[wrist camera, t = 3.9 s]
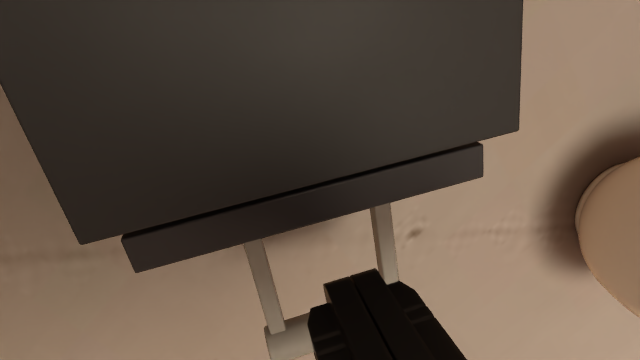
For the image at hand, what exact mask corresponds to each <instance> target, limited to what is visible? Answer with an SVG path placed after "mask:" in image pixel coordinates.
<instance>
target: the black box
mask: <svg viewBox="0 0 640 360" xmlns="http://www.w3.org/2000/svg"><path fill="white" fill-rule="evenodd" d="M522 18H523V0H0V84H1V86H2V88H3V90H4V92H5V94H6V96H7V98H8V100H9V102H10V104H11V106H12V108H13V110H14V112H15V114H16V117H17V119H18V121H19V123H20V125H21V127H22V129H23V131H24V133H25V135H26V137H27V139H28V141H29V143H30V145H31V147H32V149H33V151H34V153H35V155H36V157H37V159H38V161H39V163H40V165H41V167H42V169H43V171H44V173H45V175H46V177H47V179H48V181H49V183H50V185H51V187H52V189H53V191H54V194H55V196H56V198H57V200H58V202H59V204H60V206H61V208H62V210H63V212H64V214H65V216H66V218H67V220H68V222H69V224H70V226H71V228H72V230H73V232H74V234H75V236H76V238H77V240H78V242H79V244H80V245H84V244H88V243H91V242H95V241H99V240H103V239H107V238H110V237H114V236H118V235H122V234H126V233H130V232H133V231H137V230H141V229H145V228H149V227H153V226H156V225H160V224H164V223H168V222H172V221H175V220H179V219H183V218H187V217H191V216H195V215H198V214H202V213H206V212H210V211H214V210H218V209H221V208H225V207H229V206H233V205H237V204H240V203H244V202H248V201H252V200H256V199H260V198H263V197H267V196H271V195H275V194H279V193H283V192H286V191H290V190H294V189H298V188H302V187H306V186H309V185H313V184H317V183H321V182H325V181H328V180H332V179H336V178H340V177H344V176H348V175H351V174H355V173H359V172H363V171H367V170H371V169H374V168H378V167H382V166H386V165H390V164H393V163H397V162H401V161H405V160H409V159H413V158H416V157H420V156H424V155H428V154H432V153H436V152H439V151H443V150H447V149H451V148H455V147H458V146H462V145H466V144H470V143H474V142H478V141H481V140H485V139H489V138H493V137H497V136H501V135H504V134H508V133H512V132H516V131H518V130H519V113H520V81H521V50H522Z"/></svg>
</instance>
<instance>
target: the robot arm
mask: <svg viewBox="0 0 640 360" xmlns="http://www.w3.org/2000/svg"><path fill="white" fill-rule="evenodd" d="M323 286H324V292H325V297H326V301H327V303H326V304H323V305H320V306H317V307H313V308H311V309H310V314H309V318H308V323H307V326H308V330H309V334H310V338H311V342H312V346H313V350H314V355H315V359H316V360H467V359H466V358H465V357H464V355H463V354H462V353H461V351H460V350H459V349H458V347H457V346H456V345H455V343H454V342H453V341H452V339H451V338H450V337H449V335H448V334H447V332H446V331H445V330H444V328H443V327H442V326H441V324H440V323H439V322H438V320H437V319H436V318H434V316H433V314H432V312H431V311H430V310H429V308H428V307H427V306H425V303H424V302H423V300H422V299H421V298H420V296H419V295H418V294H417V292H416V291H415V290H414V289H412V288H410V287H409V286H407V285H405V284H404V283H402V282H400V281H397V282H394V283H390V284H386V283H385V281H384V280H383V278H382V277H381V275H380V274H379V272H378V271H377V269H375V268H374V269H371V270H368V271H364V272H361V273H358V274H354V275H351V276H350V277H345V278H342V279H338V280H335V281H332V282H328V283H325V284H323Z"/></svg>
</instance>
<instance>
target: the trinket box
mask: <svg viewBox="0 0 640 360" xmlns="http://www.w3.org/2000/svg"><path fill="white" fill-rule="evenodd" d="M575 227H576V231H577V233H578V235H579V243H580V248H581V252H582V255H583V257H584V260H585V262H586V264H587V266H588V267H589V269H590V271H591V272H592V274H593V275H594V277H595V278H596V279H597V281H598V282H599V283H600V284H601V285H602V286H603V287H604V288H605V289H606V290H607V291H608V292H609V293H610V294H611V295H612V296H613V297H614V298H615V299H616V300H617V301H619V302H620V303H621V304H622V305H623V306H624V307H625V308H627V309H628V310H629V311H631V312H632V313H634V314H635V315H636V316H638V317H639V318H640V157H638V158H635V159H633V160H631V161H629V162H627V163H622V164H618V165H615V166H613V167H611V168H609V169H607V170H606V171H604V172H603V173H601V174H600V175H599V176H598V177H597V178H596V179H595V180H594V181H593V182H592V183H591V184H590V185H589V186H588V188H587V189H586V190H585V192H584V194H583V195H582V197H581V199H580V201H579V204H578V207H577V210H576V214H575Z"/></svg>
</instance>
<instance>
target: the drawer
mask: <svg viewBox="0 0 640 360" xmlns="http://www.w3.org/2000/svg"><path fill="white" fill-rule="evenodd" d="M481 177H483V144H481V143H479V142H474V143H470V144H466V145H462V146H458V147H455V148H451V149H447V150H443V151H439V152H436V153H432V154H428V155H424V156H420V157H416V158H413V159H409V160H405V161H401V162H397V163H393V164H390V165H386V166H382V167H378V168H374V169H371V170H367V171H363V172H359V173H355V174H351V175H348V176H344V177H340V178H336V179H332V180H328V181H325V182H321V183H317V184H313V185H309V186H306V187H302V188H298V189H294V190H290V191H286V192H283V193H279V194H275V195H271V196H267V197H263V198H260V199H256V200H252V201H248V202H244V203H240V204H237V205H233V206H229V207H225V208H221V209H218V210H214V211H210V212H206V213H202V214H198V215H195V216H191V217H187V218H183V219H179V220H175V221H172V222H168V223H164V224H160V225H156V226H153V227H149V228H145V229H141V230H137V231H133V232H130V233H126V234H123V236H122V238H121V242H122V244H123V247H124V249H125V251H126V253H127V256H128V258H129V260H130V262H131V265H132V267H133V269H134V271H135V273H139V272H142V271H146V270H150V269H153V268H157V267H160V266H164V265H168V264H171V263H175V262H178V261H182V260H186V259H189V258H193V257H196V256H200V255H204V254H207V253H211V252H214V251H218V250H222V249H225V248H229V247H232V246H236V245H240V244H244V247H245V251H246V254H247V258H248V261H249V264H250V268H251V271H252V275H253V278H254V281H255V285H256V288H257V291H258V295H259V298H260V302H261V305H262V308H263V312H264V315H265V318H266V322H267V325H268V326H265V327H264V332H265V338H266V343H267V347H268V351H269V355H270V359H271V360H292V359H295V358H298V357H301V356H304V355H307V354H310V353H313V352H314V350H313V346H312V342H311V338H310V334H309V330H308V326H307V323H308V318H309V314H310V312H309V313H306V314H303V315H300V316H297V317H294V318H290V319H287V320H284V318H283V314H282V311H281V307H280V303H279V299H278V296H277V292H276V288H275V285H274V281H273V277H272V274H271V270H270V266H269V263H268V259H267V255H266V252H265V248H264V244H263V241H262V238H265V237H268V236H272V235H276V234H279V233H283V232H286V231H290V230H294V229H297V228H301V227H304V226H308V225H311V224H315V223H319V222H322V221H326V220H329V219H333V218H337V217H340V216H344V215H347V214H351V213H355V212H358V211H362V210H365V209H369V208H370V213H371V220H372V228H373V235H374V242H375V249H376V257H377V264H378V271H379V274H380V275H381V277H382V278H383V280H384V281H385V283H386V284H390V283H394V282H397V281H399V277H398V268H397V259H396V250H395V242H394V233H393V224H392V215H391V206H390V203H391V202H394V201H398V200H401V199H405V198H409V197H412V196H416V195H419V194H423V193H427V192H430V191H434V190H437V189H441V188H445V187H448V186H452V185H455V184H459V183H463V182H466V181H470V180H473V179H477V178H481Z"/></svg>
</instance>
